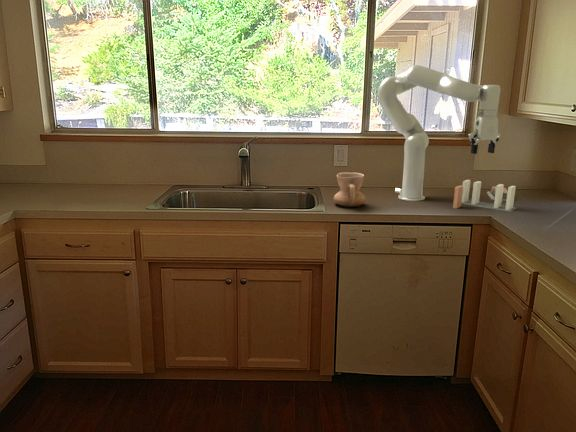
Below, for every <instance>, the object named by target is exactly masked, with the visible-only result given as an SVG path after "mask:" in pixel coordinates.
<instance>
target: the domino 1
mask: <svg viewBox="0 0 576 432" xmlns="http://www.w3.org/2000/svg"><path fill="white" fill-rule="evenodd" d="M462 194H463V186H462V185H457V186H455V187H454V195H453V201H454V202H452V203H453V204H452V208H453V209H458V208H461V207H462V204H461V203H462Z"/></svg>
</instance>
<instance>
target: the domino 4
mask: <svg viewBox="0 0 576 432" xmlns="http://www.w3.org/2000/svg"><path fill="white" fill-rule="evenodd" d="M504 186H505V184H504V183H503V184H502V183H499V184H497V185H496V192H495V200H493V201H494V202H493V204H494V208H499V207H501V205H503V203H502V196H503V189H504Z"/></svg>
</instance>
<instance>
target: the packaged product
mask: <svg viewBox="0 0 576 432" xmlns="http://www.w3.org/2000/svg"><path fill="white" fill-rule="evenodd" d="M496 186H497V185H496ZM496 186H491V189H490V191H486V194H487V195H488V197H489V198H490V199H491V200H492V201H494V200H495V192H496ZM507 193H508V188H506V187H504V189H503V196H502V201H503V202H505V201H506V200H507Z"/></svg>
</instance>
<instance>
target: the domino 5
mask: <svg viewBox="0 0 576 432" xmlns="http://www.w3.org/2000/svg"><path fill="white" fill-rule="evenodd" d="M516 188H517V186H516V185H511V186H508V187H507V191H508V193H507V200H506V202H505V206H506V207H505V210H510V209H512V208H513V207H514V203H515V195H516Z"/></svg>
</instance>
